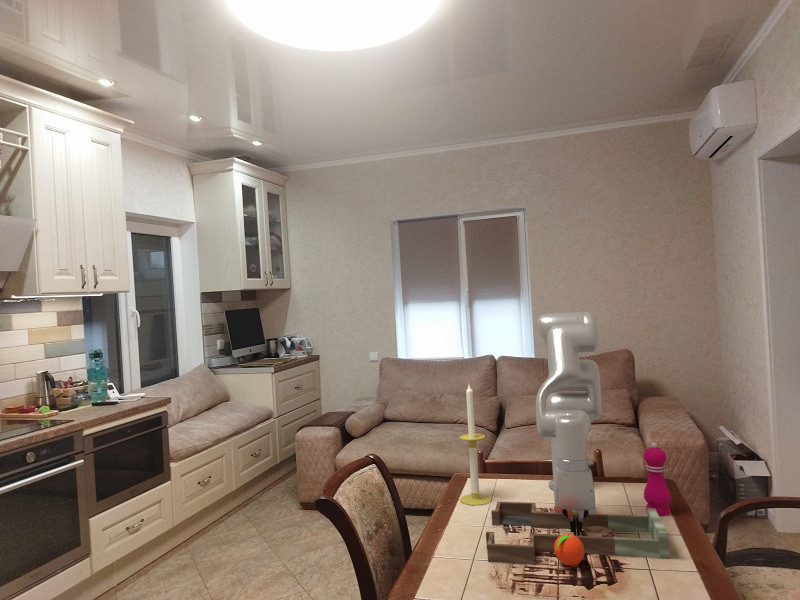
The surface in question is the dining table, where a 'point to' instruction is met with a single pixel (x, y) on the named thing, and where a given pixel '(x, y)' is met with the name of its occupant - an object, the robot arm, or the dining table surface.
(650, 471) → the pepper mill
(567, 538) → the clementine
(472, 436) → the candle
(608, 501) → the dining table surface
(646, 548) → the channel
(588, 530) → the cookie
